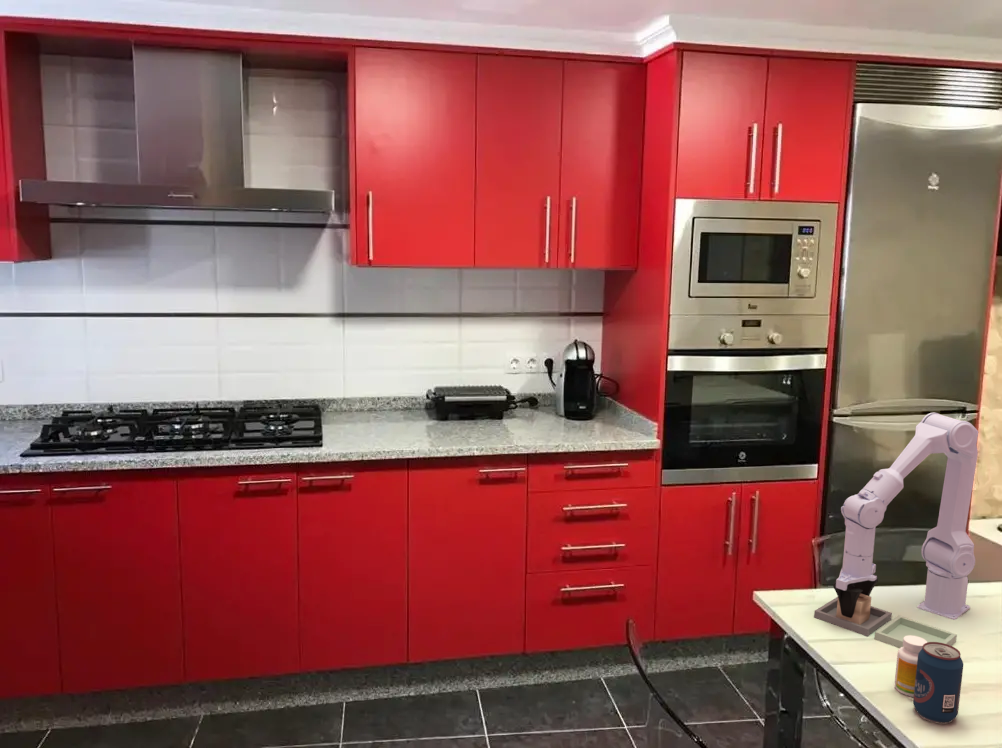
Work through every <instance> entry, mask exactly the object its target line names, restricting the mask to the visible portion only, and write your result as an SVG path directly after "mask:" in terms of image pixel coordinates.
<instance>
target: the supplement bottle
mask: <svg viewBox="0 0 1002 748" xmlns="http://www.w3.org/2000/svg"><path fill="white" fill-rule="evenodd" d="M925 643H927V641H926V640H925V639H923V638H921V637H917V636H911V635H909V636H905V637H904V638H903V647H901V648H899V649H898V651H897V655H896V656H897V657H896V665H895V666H896V667H895V677H894V688H895V690H896V691H898V692H899V693H901V694H902V695H904V696H907V697H911V698H912V697H913V698H914V689H915V679H916V670H917V660H918V653H919V652H920V651H921V649H922V648H923V645H924V644H925Z"/></svg>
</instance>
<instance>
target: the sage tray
mask: <svg viewBox="0 0 1002 748" xmlns="http://www.w3.org/2000/svg"><path fill="white" fill-rule="evenodd" d="M909 635H911V636H917V637H921V638H923V639H925V640H926V641H927V642H939V643H944V644H948V645H950V646H952V647H953V645H954V644H956V642H957V636H958V634H956V633H954V632H950V631H947V630H945V629H941V628H938V627H936V626H933V625H929V624H927V623H924V622H921V621H918V620H914V619H911V618H909V617H905V616H902V615H899V614H898V615H897V616H895V617H894V618H892V619H891V620H890V621H889V622H887V623H886V624H885V625H883V626H882V627H880V628H879V629H878V630H876V631H875V632H874V637H873V638H874V640H875V641H879V642H881V643H885V644H888V645H890V646H892V647H896V648H899V649H900V648H901V647H903V638H904V637H905V636H909Z"/></svg>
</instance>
